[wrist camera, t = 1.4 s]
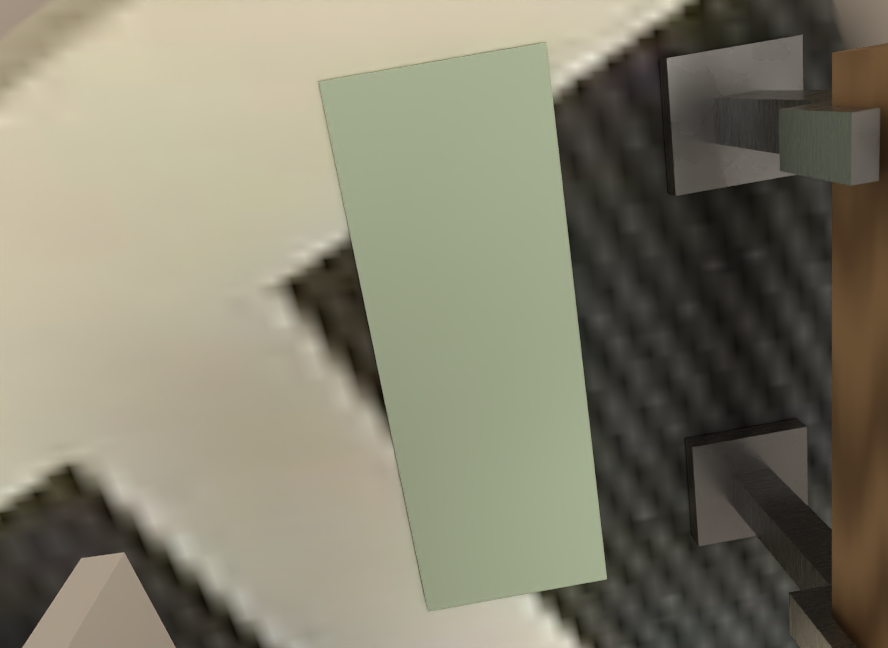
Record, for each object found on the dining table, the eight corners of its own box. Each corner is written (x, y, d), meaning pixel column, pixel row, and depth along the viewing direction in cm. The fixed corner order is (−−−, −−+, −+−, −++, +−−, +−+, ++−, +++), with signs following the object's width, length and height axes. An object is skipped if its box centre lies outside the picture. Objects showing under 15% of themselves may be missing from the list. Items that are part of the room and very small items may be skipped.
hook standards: (798, 516, 40) (996, 724, 27) (691, 535, 40) (838, 753, 27) (790, 36, 33) (1062, -2, 19) (658, 59, 33) (841, 36, 19)
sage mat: (605, 574, 41) (606, 579, 40) (427, 606, 41) (427, 611, 40) (544, 42, 32) (546, 42, 32) (319, 81, 32) (318, 81, 32)
